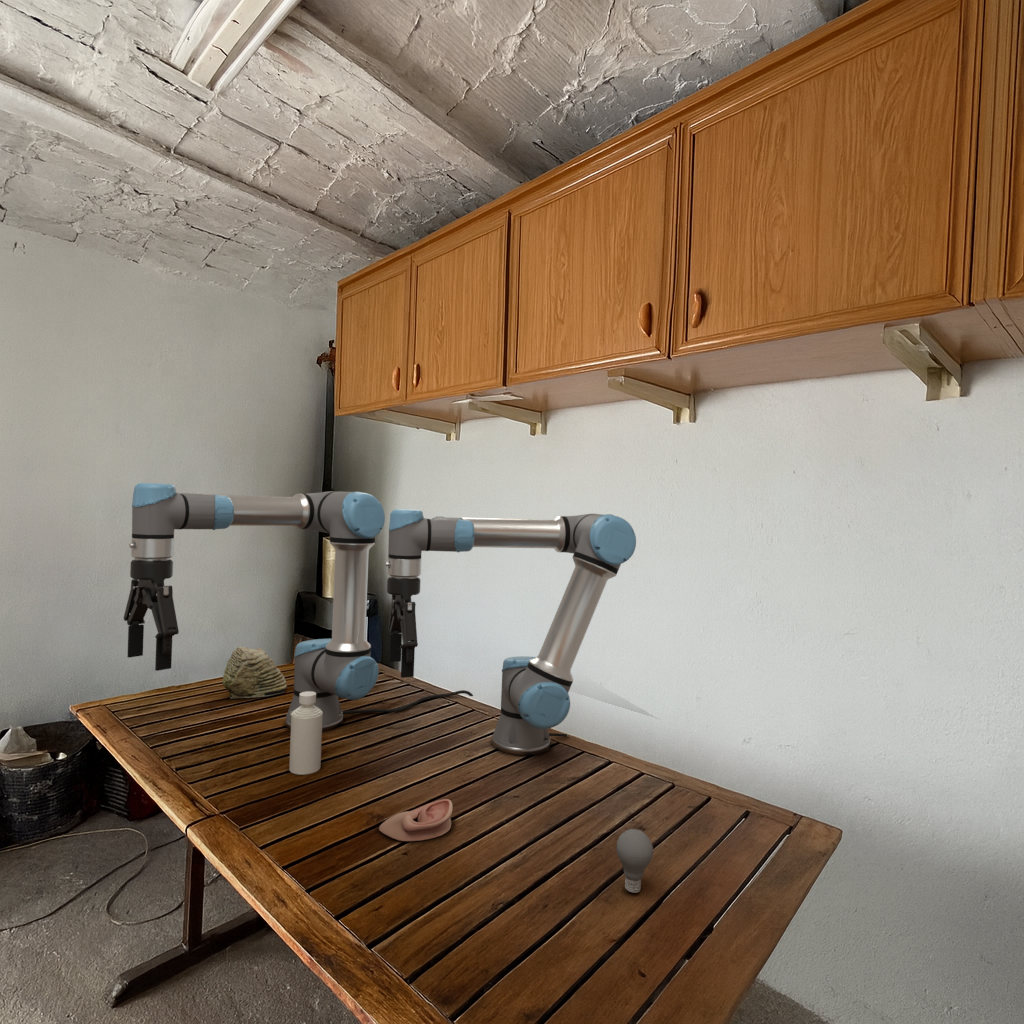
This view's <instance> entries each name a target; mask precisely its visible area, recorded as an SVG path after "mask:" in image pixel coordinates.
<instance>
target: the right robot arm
mask: <svg viewBox="0 0 1024 1024" xmlns="http://www.w3.org/2000/svg"><path fill="white" fill-rule="evenodd" d="M473 548H490V549H491V548H493V549H494V548H496V549H497V548H500V549H507V548H508V549H554V550H555V552H556V553H568V554H573V555H572V560H573V563H574V569H573V571H572V574H571V576H570V579H569V581H568V583H567V585H566V588H565V590H564V593H563V595H562V597H561V600H560V603H559V605H558V606H557V607H558V608H557V610H556V612H555V614H554V617H553V620H552V621H551V624H550V627H549V628H548V630H547V631H548V632H547V634H546V636H545V638H544V641H543V644H542V646H541V648H540V650H539V652H538V655H537V656H527V655H526V656H510V657H507V658H505V659H504V660H503V661H502V669H501V695H500V714H499V717H498V719H497V722H496V725H495V728H494V731H493V732H492V733H493V734H492V741H491V742H492V746H493V747H494V748H495V749H496V750H498V751H499V752H502V753H505V754H509V755H514V756H516V755H517V756H533V755H535V756H536V755H540V754H542V753H543V754H544V753H545V752H547V751H548V750H550V747H551V737H560V738H561V737H562V738H567V737H568V734H567V733H559V732H557V733H556V732H549V729H552V728H554V727H557V726H558V725H561V724H562V722H564V721H565V719H566V718H567V716H568V714H569V712H570V709H571V699H570V698H571V697H570V694H569V692H570V690H571V687H572V684H573V682H574V677H573V675H572V668H573V665H574V663H575V661H576V658H577V655H578V654H579V651H580V648H581V647H582V643H583V641H584V639H585V636H586V634H587V632H588V629H589V626H590V624H591V621H592V619H593V617H594V614H595V611H596V610H597V607H598V605H599V602H600V599H601V597H602V596H603V593H604V590H605V588H606V585H607V583H608V581H609V580H610V579H613V578H615V577H617V574H618V572H619V570H620V568H621V565H623V564H624V563H626V562H627V561H629V560H630V559H631V557H632V556H633V555H634V553H635V550H636V548H637V536H636V533H635V530H634V528H633V526H632V524H630V522H629V521H627V520H626V519H625V518H622V517H620V516H617V515H614V514H611V513H610V514H609V513H607V514H602V513H601V514H600V513H584V514H578V515H563V516H562V515H558V516H556V517H555V518H554V519H539V518H538V519H535V518H534V519H533V518H532V519H531V518H494V517H493V518H491V517H489V518H488V517H487V518H486V517H451V516H450V517H449V516H448V517H445V516H435V517H432V518H427V517H424V513H423V511H422V510H421V509H407V508H399V509H398V508H395V509H393V510H391V512H390V513H389V524H388V549H387V550H388V552H387V553H388V554H387V557H388V559H387V560H388V561H386V562H385V563H384V564H385V567H387V575H388V577H387V580H386V593H387V594H388V595H390V596H391V605H390V612H389V617H388V618H389V620H388V626H387V629H388V632H389V649H388V651H389V652H388V654H389V655H388V662H389V663H395V662H396V663H398V662H400V678H401V679H404V678H414V677H415V655H416V652H415V649H416V648H417V647H418V646H419V643H418V632H417V630H418V629H417V618H416V606H417V605H416V601H412V596H417V595H419V594H420V593H421V578H420V576H421V575H422V553H423V552H453V553H454V552H455V553H461V552H462V553H463V552H464V553H465V552H471V551H472V549H473Z"/></svg>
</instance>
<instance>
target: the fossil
mask: <svg viewBox="0 0 1024 1024" xmlns="http://www.w3.org/2000/svg"><path fill="white" fill-rule="evenodd" d="M222 676H223V677H222V685H223V687H224V688H225V690H226V691H228V693H229V698H230V699H250V698H264V697H271V696H275V695H281V694H284V693H285V691H286V689H287V687H288V686H287V680H286V678H285V676H284V674H283V673H282V672H281V669H279V668H278V667H277V665H276V663H275V662H274V660H273V659H272V658H271V657H270V656H269V655H268V654H267V653H266V652H265V650H264V649H263V648H260V647H258V648H251V647H247V646H246V647H245V646H238V647H237V648H236V649H235V650H233V651H232V653H231V656H230V657H229V659H228V660H227V663H226V666H225V668H224V671H223V675H222Z"/></svg>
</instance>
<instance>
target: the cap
mask: <svg viewBox="0 0 1024 1024" xmlns="http://www.w3.org/2000/svg"><path fill="white" fill-rule="evenodd" d="M315 702H316V693H315V692H311V691H307V692H302V693H300V694H299V703H300V704H313V703H315Z"/></svg>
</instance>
